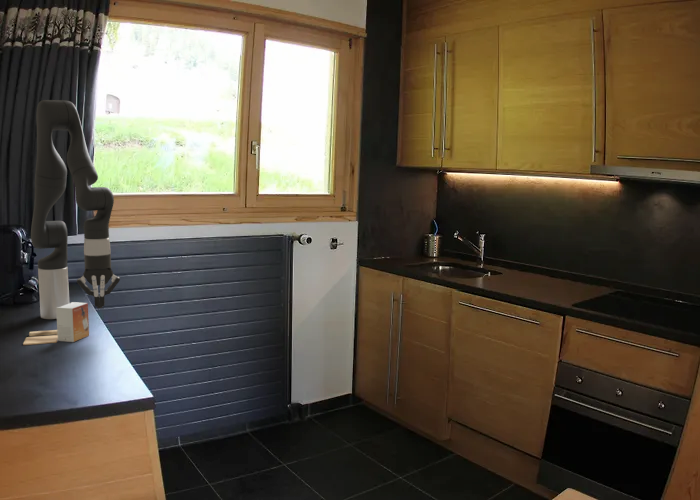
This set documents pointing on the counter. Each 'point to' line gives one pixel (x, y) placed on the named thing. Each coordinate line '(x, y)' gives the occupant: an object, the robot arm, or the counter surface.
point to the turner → (43, 333)
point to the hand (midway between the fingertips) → (99, 307)
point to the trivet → (40, 340)
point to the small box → (72, 321)
